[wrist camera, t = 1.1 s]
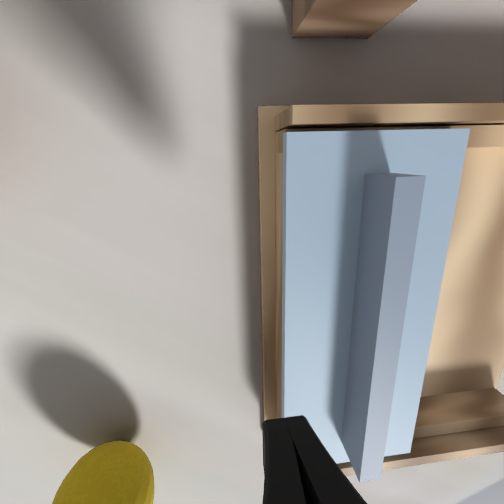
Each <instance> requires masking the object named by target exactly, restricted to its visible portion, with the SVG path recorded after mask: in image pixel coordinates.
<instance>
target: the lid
mask: <svg viewBox="0 0 504 504" xmlns="http://www.w3.org/2000/svg"><path fill="white" fill-rule="evenodd" d="M469 133H470V128H462V129H412V130H362V131H312V132H285V133H283V234H282V418H285V417H292V416H300V415H303V416H305V417H306V419H307V420H308V422H309V424H310V425H311V427H312V428H313V430H314V432H315V433H316V435H317V436H318V438H319V439H320V441H321V442H322V444H323V445H324V447H325V448H326V450H327V451H328V453H329V454H330V456H331V457H332V458H333V460H334V461H335V463H336V464H338V463H345V462H351V464H352V467H353V469H354V471H355V473H356V476H357V478H358V480H359V482H365V481H372V480H378V479H381V473H382V466H383V460H384V457H385V456H392V455H399V454H405V453H410V451H411V445H412V440H413V435H414V429H415V424H416V418H417V413H418V408H419V402H420V397H421V392H422V386H423V381H424V375H425V370H426V365H427V359H428V354H429V349H430V343H431V338H432V332H433V327H434V322H435V316H436V311H437V305H438V300H439V295H440V289H441V284H442V279H443V273H444V268H445V262H446V257H447V252H448V246H449V241H450V236H451V230H452V225H453V219H454V214H455V209H456V203H457V198H458V192H459V187H460V182H461V176H462V171H463V166H464V160H465V155H466V149H467V144H468V139H469Z"/></svg>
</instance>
